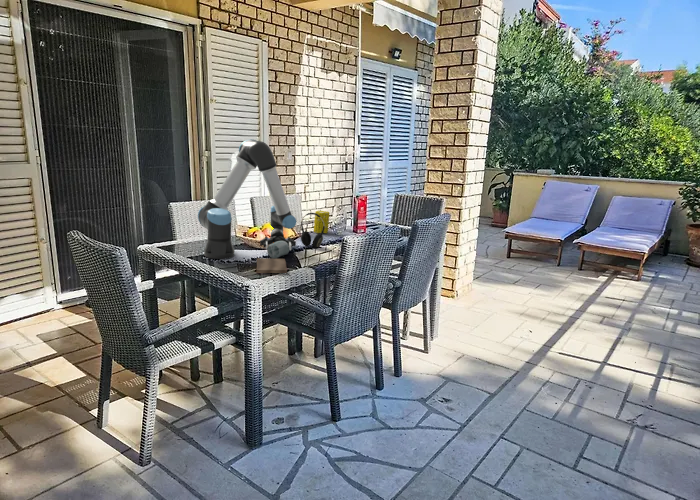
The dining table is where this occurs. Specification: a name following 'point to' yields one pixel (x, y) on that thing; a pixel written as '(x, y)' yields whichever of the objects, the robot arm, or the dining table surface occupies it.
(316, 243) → the headphones
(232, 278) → the dining table surface
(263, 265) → the stand
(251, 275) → the dining table surface
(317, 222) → the food
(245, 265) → the dining table surface
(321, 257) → the dining table surface
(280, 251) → the grey rounded cylinder
